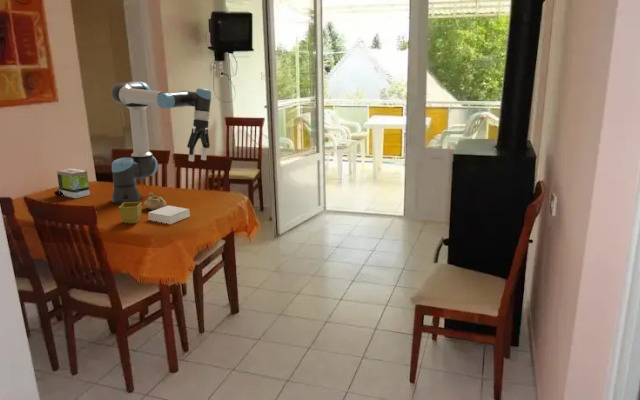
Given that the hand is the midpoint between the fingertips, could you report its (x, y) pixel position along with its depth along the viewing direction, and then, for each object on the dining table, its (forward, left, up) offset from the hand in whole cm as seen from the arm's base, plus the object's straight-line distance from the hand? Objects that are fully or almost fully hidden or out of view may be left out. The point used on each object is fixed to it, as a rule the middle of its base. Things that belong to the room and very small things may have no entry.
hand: (197, 160), depth 262 cm
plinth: (-3, -20, -26) cm, 33 cm away
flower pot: (-15, -33, -26) cm, 45 cm away
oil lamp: (-20, -11, -26) cm, 35 cm away
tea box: (-83, -12, -26) cm, 88 cm away
